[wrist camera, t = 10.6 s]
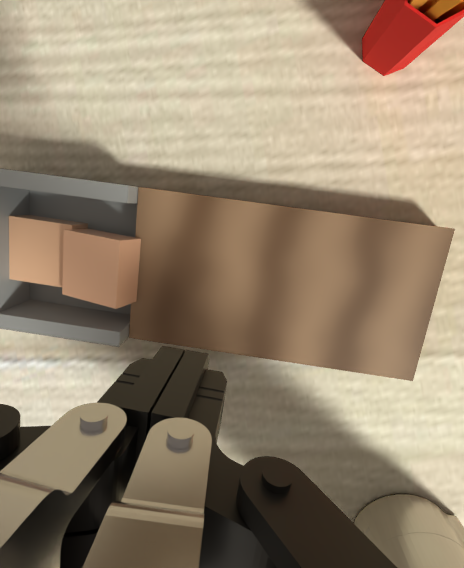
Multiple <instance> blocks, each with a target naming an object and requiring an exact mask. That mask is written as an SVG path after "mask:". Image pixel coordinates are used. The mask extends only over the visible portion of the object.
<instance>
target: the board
mask: <svg viewBox="0 0 464 568" xmlns="http://www.w3.org/2000/svg"><path fill="white" fill-rule="evenodd" d="M454 230H455V229H452V228H444V227H437V226H429V225H422V224H414V223H406V222H399V221H391V220H384V219H376V218H369V217H361V216H354V215H346V214H339V213H331V212H324V211H316V210H309V209H301V208H294V207H286V206H278V205H271V204H263V203H256V202H248V201H241V200H233V199H226V198H218V197H211V196H203V195H196V194H188V193H181V192H173V191H166V190H158V189H150V188H143V187H138V203H137V218H136V234H135V238H140V239H141V247H140V261H139V274H138V287H137V301H136V302H133V303H131V312H130V327H129V338H134V339H141V340H147V341H154V342H161V343H167V344H174V345H180V346H187V347H193V348H200V349H207V350H213V351H220V352H226V353H233V354H239V355H246V356H253V357H259V358H266V359H272V360H279V361H285V362H292V363H299V364H305V365H312V366H318V367H325V368H331V369H338V370H345V371H351V372H358V373H364V374H371V375H377V376H384V377H391V378H397V379H404V380H410V381H413V378H414V375H415V371H416V368H417V364H418V360H419V357H420V353H421V349H422V346H423V342H424V339H425V335H426V331H427V328H428V324H429V320H430V317H431V313H432V310H433V306H434V302H435V299H436V295H437V291H438V288H439V284H440V281H441V277H442V273H443V270H444V266H445V263H446V259H447V255H448V252H449V248H450V244H451V241H452V237H453V234H454Z"/></svg>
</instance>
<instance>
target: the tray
mask: <svg viewBox="0 0 464 568" xmlns="http://www.w3.org/2000/svg"><path fill="white" fill-rule="evenodd" d="M137 203H138V187H136V186H129V185H121V184H114V183H106V182H99V181H91V180H84V179H76V178H69V177H61V176H54V175H46V174H39V173H31V172H23V171H16V170H8V169H1V168H0V329H6V330H13V331H19V332H26V333H32V334H39V335H45V336H52V337H58V338H65V339H71V340H78V341H84V342H91V343H97V344H104V345H110V346H117V347H120V345H121V344H122V343H123V342H124V341H125V340H126V339H127V338H128V337H129V327H130V312H131V304H128V305H125V306H123V307H120V308H117V309H114V308H111V307H107V306H103V305H100V304H96V303H92V302H89V301H85V300H81V299H78V298H74V297H71V296H67V295H63V294H62V287H57V286H50V285H44V284H37V283H31V282H24V281H18V280H11V279H10V277H9V216H17V215H34V216H41V217H47V218H54V219H61V220H68V221H75V222H82V223H88V229H94V230H99V231H104V232H109V233H114V234H119V235H125V236H130V237H135V234H136V218H137Z"/></svg>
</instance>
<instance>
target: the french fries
mask: <svg viewBox="0 0 464 568" xmlns="http://www.w3.org/2000/svg"><path fill="white" fill-rule="evenodd" d="M463 17H464V0H385V1H384V3H383V4H382V6H381V8H380V9H379V11H378V13H377V14H376V16H375V18H374V19H373V21H372V23H371V24H370V26H369V28H368V30H367V31H366V33H365V35H364V36H363V38H362V55H363V62H365V63H366V64H367V65H369V66H370V67H372V68H373V69H375V70H376V71H377V72H379V73H380V74H382V75H383V76H385V75H388V74H390V73H393V72H395V71H398V70H401V69H403V68H405V67H406V66H407V65H408V64H409V63H411V62H412V61H413V60H414V59H415V58H416V57H417V56H419V55H420V54H421V53H422V52H423V51H424V50H426V49H427V48H428V47H429V46H430V45H431V44H433V43H434V42H435V41H436V40H437V39H438V38H439V37H441V36H442V35H443V34H444V33H445V32H446V31H448V30H449V29H450V28H451V27H452V26H453V25H455V24H456V23H457V22H458V21H459V20H460V19H461V18H463Z"/></svg>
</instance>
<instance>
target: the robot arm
mask: <svg viewBox="0 0 464 568" xmlns="http://www.w3.org/2000/svg"><path fill="white" fill-rule="evenodd" d="M208 364H209V354H206V353H200V352H194V351H189V350H183V349H177V348H171V347H165V346H162V347H161V349H160V350H159V351H158V353H157V354H156V355H155V357H154V358H153V359H152V360H151V359H145V358H142V359H140V360H138V361H136V362H134V363H132V364H130V365H129V366H128V367H127V369H126V370H125V371H124V372H123V374H121V375H120V377H119V378H118V379H117V381H116V382H114V383H113V385H112V386H111V387H110V388H109V389H108V390H107V392H106V393H105V394H104V395H103V396H102V397H101V398H100V400H99V401H98V402H97V403H89V404H84V405H81V406H78V407H75V408H73V409H71V410H70V411H68V412H67V413H66V414H64V415H63V416H62V417H61V418H60V419H59V420H58V421H56V422H55V423H54V424H53V425H52V426H35V427H20V413H19V411H18V410H17V409H15V408H14V407H11V406H9V405H4V404H0V568H464V527H463V526H462V524H461V523H460V521H459V520H458V518H457V517H456V516H453V515H448V514H446V513H444V512H443V511H442V510H441V509H440V508H439V507H438V506H437V505H436V504H434V503H432V502H431V501H429V500H427V499H424V498H422V497H419V496H414V495H408V494H396V495H390V496H386V497H383V498H380V499H377V500H375V501H374V502H372V503H370V504H368V505H367V506H366V507H365V508H364V509H363V510H362V511H361V512H360V513H359V515H358V516H357V517H356V519H355V522H354V523H353V522H352V521H351V520H350V519H349V518H348V517H347V516H346V515H345V514H344V513H343V512H342V511H341V510H340V509H339V508H338V507H337V506H336V505H335V504H334V503H333V502H332V501H331V500H330V499H329V498H328V497H327V496H326V495H325V494H324V493H323V492H322V491H321V490H320V489H319V488H318V487H317V486H316V485H315V484H314V483H313V482H312V481H311V480H310V479H309V478H308V477H307V476H306V475H305V474H304V473H303V472H302V471H301V470H300V469H299V468H298V467H296V466H295V465H293V464H292V463H290V462H288V461H286V460H283V459H280V458H276V457H269V456H264V457H258V458H254V459H252V460H250V461H249V462H247V463H246V464H245V465H244V466H243V465H241V464H239V463H236V462H235V461H233V460H231V459H230V458H228V457H227V456H226V455H224V454H223V453H222V452H221V450H220V449H219V447H218V446H217V438H218V434H219V429H220V424H221V417H222V411H223V404H224V398H225V392H226V385H227V380H226V378H225V376H224V375H223V373H222V372H219V371H213V370H208Z"/></svg>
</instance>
